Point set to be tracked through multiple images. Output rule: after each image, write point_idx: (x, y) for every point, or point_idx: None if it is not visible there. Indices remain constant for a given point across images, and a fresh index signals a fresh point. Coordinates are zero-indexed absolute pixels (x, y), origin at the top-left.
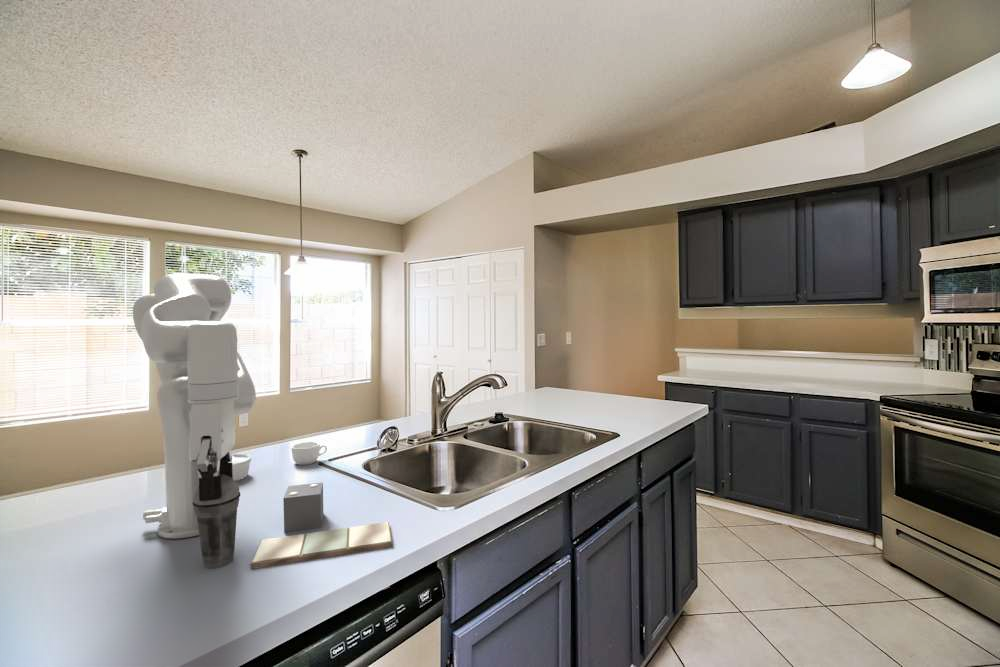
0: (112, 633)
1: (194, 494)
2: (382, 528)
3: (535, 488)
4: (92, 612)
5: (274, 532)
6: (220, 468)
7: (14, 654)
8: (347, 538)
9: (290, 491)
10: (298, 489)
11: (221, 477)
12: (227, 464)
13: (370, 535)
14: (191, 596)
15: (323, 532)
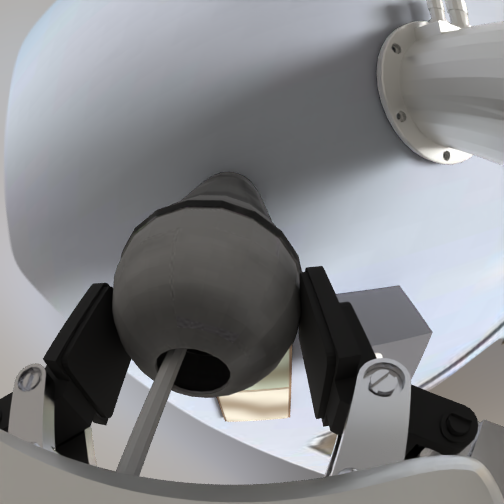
0: (34, 135)
1: (147, 238)
2: (268, 415)
3: (324, 472)
4: (85, 55)
5: (341, 276)
6: (318, 373)
7: (25, 40)
8: (251, 389)
9: (394, 348)
10: (397, 359)
11: (180, 391)
12: (317, 415)
13: (249, 408)
14: (103, 203)
15: (282, 363)
